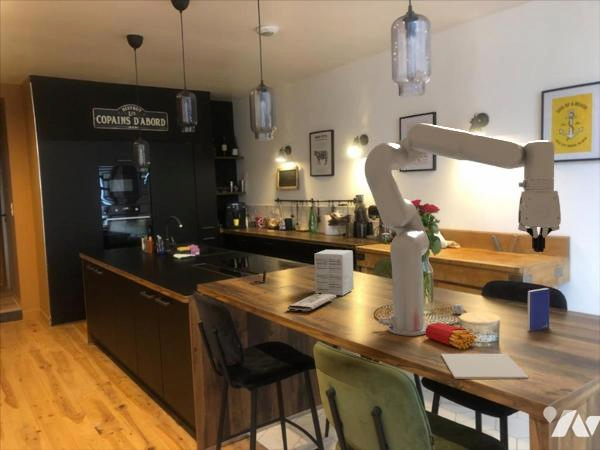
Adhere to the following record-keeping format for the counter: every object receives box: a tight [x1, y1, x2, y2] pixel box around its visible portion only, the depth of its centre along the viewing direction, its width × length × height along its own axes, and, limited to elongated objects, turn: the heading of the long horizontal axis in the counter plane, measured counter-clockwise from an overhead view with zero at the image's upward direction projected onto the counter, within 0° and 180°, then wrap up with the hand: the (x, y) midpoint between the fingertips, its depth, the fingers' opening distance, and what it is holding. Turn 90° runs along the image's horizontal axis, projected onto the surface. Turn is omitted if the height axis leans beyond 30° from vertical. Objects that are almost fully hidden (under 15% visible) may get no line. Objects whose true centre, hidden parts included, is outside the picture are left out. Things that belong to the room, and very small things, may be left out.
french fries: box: [425, 322, 478, 350], centre depth 146 cm, size 9×4×13 cm
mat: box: [440, 353, 530, 380], centre depth 127 cm, size 17×16×1 cm
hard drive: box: [527, 287, 550, 332], centre depth 156 cm, size 2×8×12 cm, turn 114°
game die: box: [452, 303, 464, 315], centre depth 178 cm, size 4×4×3 cm
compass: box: [249, 269, 267, 286], centre depth 238 cm, size 8×8×7 cm
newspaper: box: [287, 293, 337, 312], centre depth 197 cm, size 23×12×2 cm, turn 152°
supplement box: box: [313, 249, 355, 296], centre depth 219 cm, size 13×13×18 cm
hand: (538, 251), depth 141 cm, fingers closed
